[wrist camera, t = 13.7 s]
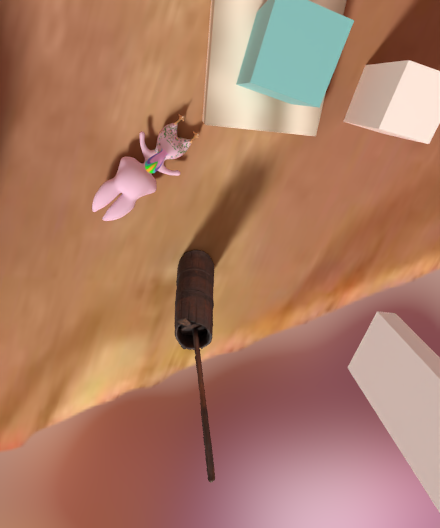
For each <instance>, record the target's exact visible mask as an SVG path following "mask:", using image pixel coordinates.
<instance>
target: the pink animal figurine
mask: <svg viewBox="0 0 440 528" xmlns="http://www.w3.org/2000/svg"><path fill="white" fill-rule="evenodd" d="M179 114H180V113H179ZM178 116H179V119H178V121H177V122H175V123H171V124H168V125H166V126H165V127H164V128H163V129H162V130H161V131H160V133H159V135H158V139H157V146H156V148H155V149H154V150H149V149H148V148H147V146H146V144H145V141H144V139H145V133H144V132H142V131H141V132H140V146H141V149H142V153H143V155H144V157H145V162H144V163H140V162H138V161H137V160H136V159H135V158H133V157H123V158H122V159H121V161H120V165H119V168H118V171H117V174H116V176H115V177H114V178H113V179H110V180H108V181H106V182H104V183H103V184H102V186H101V187H100V188H99V190H98V191H97V193H96V195H95V197H94V200H93V205H92V210H93V212H96V211H97V210H99V209H101V208H103V207H105V206H106V205H107V204H109V203H110V202H111V201H112V200H113V199H114V198H115V197H116V196H117V195H118V194H119V193H122V195H121V196H120V197H119V198H118V199H117V200H116V201H115V202H114V203H113V204H112V205H111V206H110V208H109V209H108V210H107V212H106V214H105V215H104V217H103V218H102V219H103V220H104V221H110V220H116V219H119V218H121V217H123V216H124V215H126V214H127V213H129V212H130V211H131V210H132V209H133V208H134V206H135V202H136V200H137V199H138V198H140V197H142V196H144V195H147V194H150V193H153V192H155V191H156V180H155V178H154V177H153V176H152V174H151V173H155V172H156V171H159V172H162V173H165V174H168V175H177V176H178V175H180V171H178V170H176V171H171V170H169V169H167V168H166V167H165V166H164V161H165V160H166V159H175V158H178V157H181V156H182V155H183V154H184V153H185V152H186V151H187V150H188V149H189V147H190V145H191V143H192V142H193V140H194V139H195V138H198V134H197V133H195V132H194V130H193V134H194V137H193V138H192V139H185V138H178V137H177V125H178V122H179V121H180V120H183V121H185V120H184V119H183V116H182V115H178Z"/></svg>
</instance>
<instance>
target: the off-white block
mask: <svg viewBox="0 0 440 528" xmlns="http://www.w3.org/2000/svg"><path fill="white" fill-rule="evenodd" d="M343 122H346V123H350V124H353V125H356V126H360V127H363V128H367V129H370V130H373V131H377V132H380V133H383V134H387V135H391V136H396V137H400V138H404V139H409V140H413V141H418V142H422V143H426V144H429V143H430V141H431V139H432V137H433V135H434V133H435V131H436V129H437V127H438V125H439V123H440V71H438V70H435V69H432V68H430V67H427V66H424V65H421V64H418V63H416V62H413V61H410V60H405V61H397V62H389V63H380V64H372V65H365V68H364V70H363V73H362V75H361V78H360V81H359V83H358V86H357V88H356V91H355V93H354V96H353V98H352V101H351V103H350V106H349V109H348V111H347V114H346V116H345V119H344V121H343Z"/></svg>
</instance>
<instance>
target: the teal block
mask: <svg viewBox="0 0 440 528" xmlns="http://www.w3.org/2000/svg"><path fill="white" fill-rule="evenodd" d="M353 22H354V20H352V19H350V18H347V17H345V16H343V15H341V14H338V13H336V12H334V11H331V10H329V9H327V8H325V7H322V6H320V5H318V4H315V3H313V2H311V1H309V0H267V1H266V3H265V4H264V5H263V6H262V7H261V8H260V9H259V10H258V11H257V13H256V17H255V20H254V24H253V27H252V31H251V34H250V38H249V41H248V45H247V48H246V52H245V55H244V59H243V62H242V66H241V69H240V73H239V76H238V79H237V83H236V85H239V86H242V87H245V88H247V89H250V90H253V91H256V92H259V93H261V94H264V95H267V96H270V97H273V98H275V99H278V100H281V101H284V102H287V103H289V104H294V105H302V106H310V107H318V108H320V105H321V103H322V100H323V98H324V95H325V93H326V90H327V88H328V85H329V83H330V80H331V78H332V75H333V73H334V70H335V67H336V65H337V62H338V60H339V57H340V55H341V52H342V50H343V47H344V45H345V42H346V40H347V37H348V35H349V32H350V30H351V27H352V25H353Z"/></svg>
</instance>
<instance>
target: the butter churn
mask: <svg viewBox="0 0 440 528" xmlns="http://www.w3.org/2000/svg"><path fill="white" fill-rule="evenodd" d="M176 283H177V290H176V301H175V337H176V339H177V341H178V342H179V344H180V345H181V347H182V348H183V349H186V348H187V349H190V350H191V349H193V350H195V354H196V356H195V360H196V366H197V373H198V384H199V391H200V400H201V403H200V404H201V416H202V426H203V433H204V434H203V435H204V437H203V438H204V445H205V455H206V464H207V473H208V480H209V482H213V481H214V480H215V473H214V462H213V454H212V445H211V438H210V430H209V423H208V413H207V407H206V399H205V390H204V383H203V373H202V365H201V356H200V349H199V348H201V349H202V348H203V347H205V346H207V345H208V344H210V342H211V340H212V330H213V329H212V327H213V306H214V303H213V286H214V264H213V262H212V260H211V258H210V256H209V255H208V254H206V253H205V252H204V251H199V250H194V251H189V252H187V253H185V254H184V256H183V257H182V258H181V260H180V261H179V264H178V271H177V282H176Z"/></svg>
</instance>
